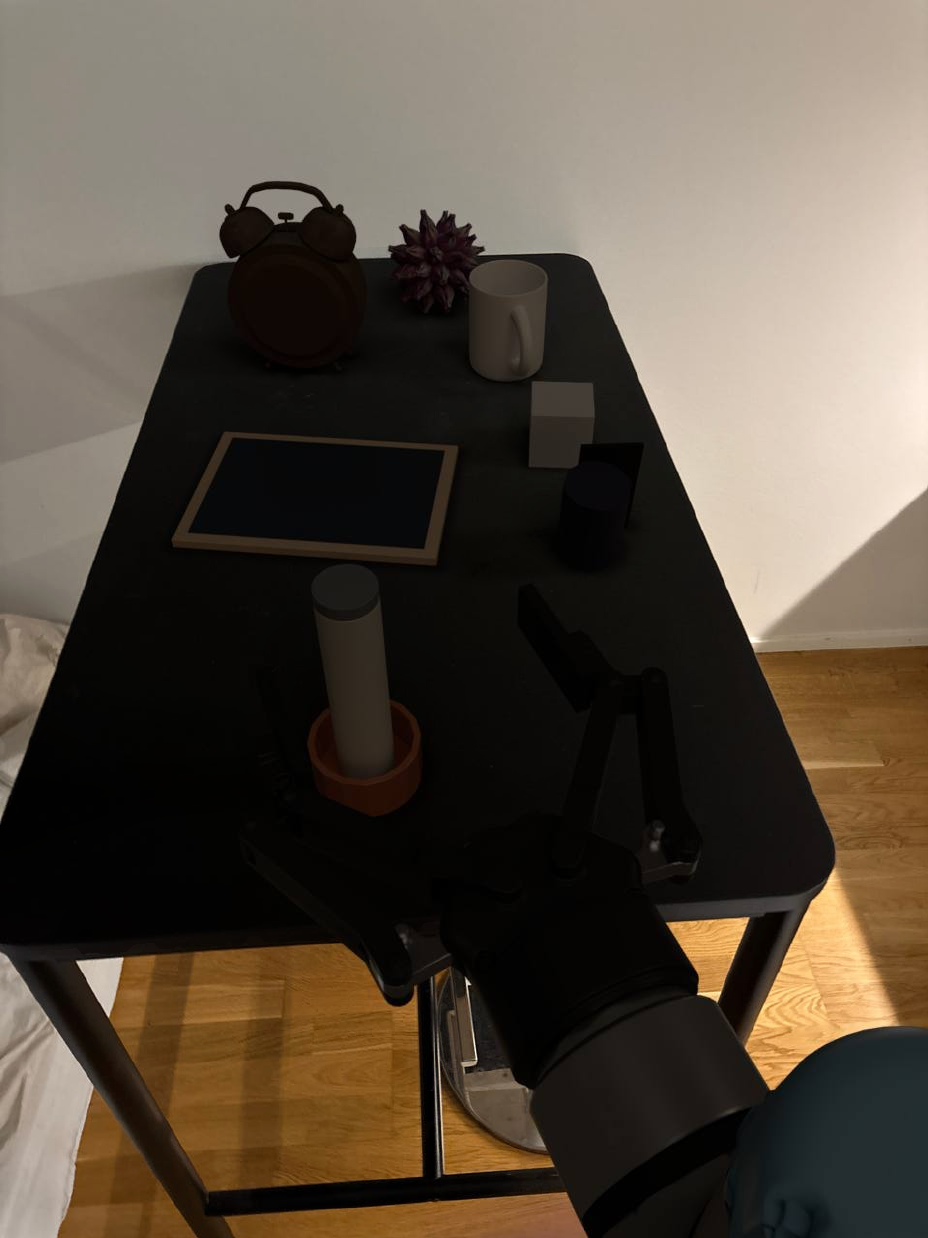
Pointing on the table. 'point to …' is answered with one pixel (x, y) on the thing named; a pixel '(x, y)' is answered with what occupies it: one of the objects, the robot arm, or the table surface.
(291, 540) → the picture frame
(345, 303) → the alarm clock
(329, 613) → the grey-capped cream cylinder
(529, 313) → the mug
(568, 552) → the speaker
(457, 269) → the flower
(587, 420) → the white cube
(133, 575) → the table surface
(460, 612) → the table surface
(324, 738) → the bowl
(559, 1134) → the robot arm
